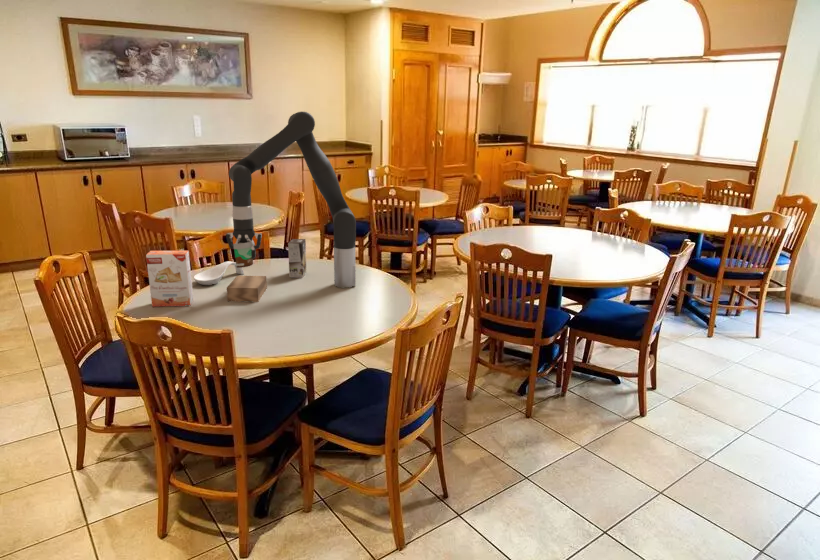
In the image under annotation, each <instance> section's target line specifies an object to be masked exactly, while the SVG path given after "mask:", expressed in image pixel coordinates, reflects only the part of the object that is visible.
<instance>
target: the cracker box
mask: <svg viewBox="0 0 820 560" xmlns="http://www.w3.org/2000/svg"><path fill="white" fill-rule="evenodd" d="M145 257H146V259H145V260H146V265H147V274H148V283H149V289H150V290H149V292H150V300H151V307H155V308H156V307H186V306H185V305H190V306H191V305H192V304H191V303H193V302H194V295H193V292H194V291H193V281H192V273H191V262H190V251H189V250H149V252H147V254H146V255H145Z"/></svg>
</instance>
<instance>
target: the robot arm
mask: <svg viewBox="0 0 820 560" xmlns="http://www.w3.org/2000/svg"><path fill="white" fill-rule="evenodd" d="M315 127H316V121H315V118H314V116H313V115H312V114H311V113H309V112H307V111H298V112H294V113H293V114H291V115H290V116H289V117H288V120H287V124H286V125H285V127H284V128H282V130H280V131H279V132H278V133H276V134H275V135H273V136H272V137H270V138H268V140H266V141H264V142H263V143H261V144H260V145H259V146H257V147H256V148H255V149H254V150H252V151H251V152H250V153H249V154H248V155H247V156H245V157H243V158H242V159H240V160H238V161H237V162H235V163H234V164H233V165H232V166H231V167H230V168H229V171H228V177H229V179H230V180H231V181H232V182H233V191H232V193H231V200H232V202H231V203H232V214H231V216H232V222H233V223H232V224H233V231H232V232H228V233H226V235H225V237H226V241H227V245H228V247H229V249H232V250H234V244H237V243H239V242H240V243H242V242H246V243H247V242H251V241H252V240H253V238H254V236H255V239H256V244H255V245H253V244H252V245H253V246H252V247H251V249H252V250H251V254H252V259H253V260H255V259H256V256H257V251H256V250H258V249H260V248H261V244H262V237H263V233H262V232H260V233H258V232H256V231H255V229H254V227H255V226H254V213H253V207H252V195H251V192H252V184H253V183H252V181H253V178H252V174H254V173H255V172H256V171H260V170H262V169H264V168H265V167H266V166H267V165H269V164H270V163H271V162H272V161H273V160H274V159H276V158H277V157H278V156H279V155H280V154H282V152H283V151H285V150H286V149H287V148H288V147H290V146H291V145H292V144H293V143H296V144H297V146H298V147H299V149H300V151H301V153H302V156H303V158H304V161H305V163H306V166H307V168H308V171H309V174H310V175H311V177H312V179H313V182H314V184H315V186H316V187H317V189H318V191H319V192H320V194H321V195H322V197H323V198H324V201H325V202H326V203H327V206H328V208H329V211H330V214H331V217H332V221H333V270H334V271H333V275H334V276H333V278H334V280H333V281H334V286H335V287H336V286H337V287H336V288H340V287H349V288H353V287H352V286H355V287H356V286H357V285H356V284H357V283H356V279H357V277H356V276H357V274H356V271H357V269H356V268H357V265H356V242H357V241H356V239H357V221H356V216H355V215H354V213H353V211H352V210H351V208H350V206H349V205H348V204H347V201H346V200H345V197H344V196H343V193H342V190H341V187H340V186H341V185H340V182H339V179H338V177H337V175H336V172H335V170H334V167H333V165H332V163H331V161H330V160H329V158H328V157H327V155H326V154H325V152H324V151H323V150H322V148H321V147H320V146H319V144H318V142H317V141H316V137H315V135H314V133H313V131H314V129H315ZM233 237H234V238H235V239H236V241H235V243H234V242H233ZM253 241H254V240H253ZM251 243H252V242H251Z"/></svg>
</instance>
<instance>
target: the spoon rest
mask: <svg viewBox="0 0 820 560" xmlns="http://www.w3.org/2000/svg"><path fill="white" fill-rule="evenodd" d="M230 266H234V268H235V273H236V274H238V275H240V276H244V274H245V272H244V269H243V267H242V268H237V267H236V262H234V261H232V260H231V261H228V260H227V261H224V262H222V263H220V264H217V265H215V266H213V267H211V268H208V269H206V270H204V271H201V272H198V273H196V274H194V276H193V280H194V281H195V282H196V283H198V284H200V285H203V286H213V285H212V284H214V285H216V284H218V283H219V282H220V281H221V279H222V278H223V276H224V275H225V272H226V270H227V269H228V267H230Z"/></svg>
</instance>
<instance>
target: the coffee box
mask: <svg viewBox="0 0 820 560" xmlns="http://www.w3.org/2000/svg"><path fill="white" fill-rule="evenodd" d="M287 245H288V246H287V247H288V248H287V249H288V250H287V251H288V272H289V275H288V276H289V278H298V279H299V278H301V279H303V278H304V276H305V275H306V274H307V272H308V270H307V250H306V249H307V248H306V247H307V246H306V238H292V239H291V240H289V242H288V243H287ZM305 273H306V274H305ZM302 277H303V278H302Z"/></svg>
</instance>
